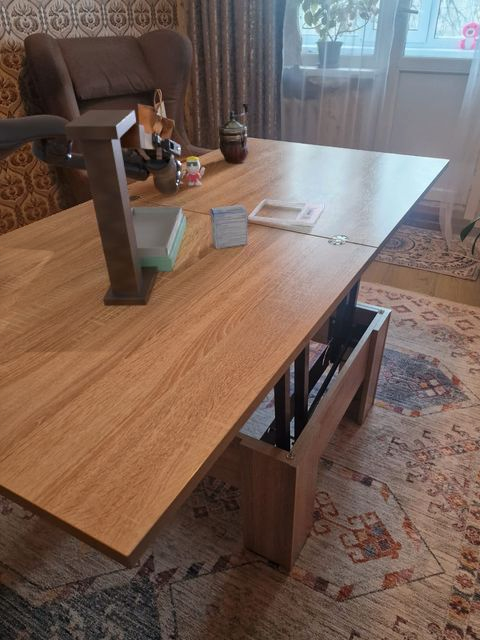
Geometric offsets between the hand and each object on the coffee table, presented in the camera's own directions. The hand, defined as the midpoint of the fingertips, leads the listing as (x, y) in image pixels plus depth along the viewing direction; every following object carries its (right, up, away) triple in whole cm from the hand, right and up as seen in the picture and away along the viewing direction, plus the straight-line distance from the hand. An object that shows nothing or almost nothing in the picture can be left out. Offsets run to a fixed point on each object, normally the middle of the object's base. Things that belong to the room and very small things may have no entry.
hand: (145, 137), depth 106 cm
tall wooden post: (-1, -34, -8) cm, 35 cm away
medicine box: (+18, -21, +10) cm, 30 cm away
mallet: (0, -5, -7) cm, 8 cm away
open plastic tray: (-1, -22, +9) cm, 24 cm away
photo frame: (+33, -9, +26) cm, 43 cm away
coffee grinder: (+16, +25, +74) cm, 80 cm away
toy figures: (+1, +7, +50) cm, 50 cm away
